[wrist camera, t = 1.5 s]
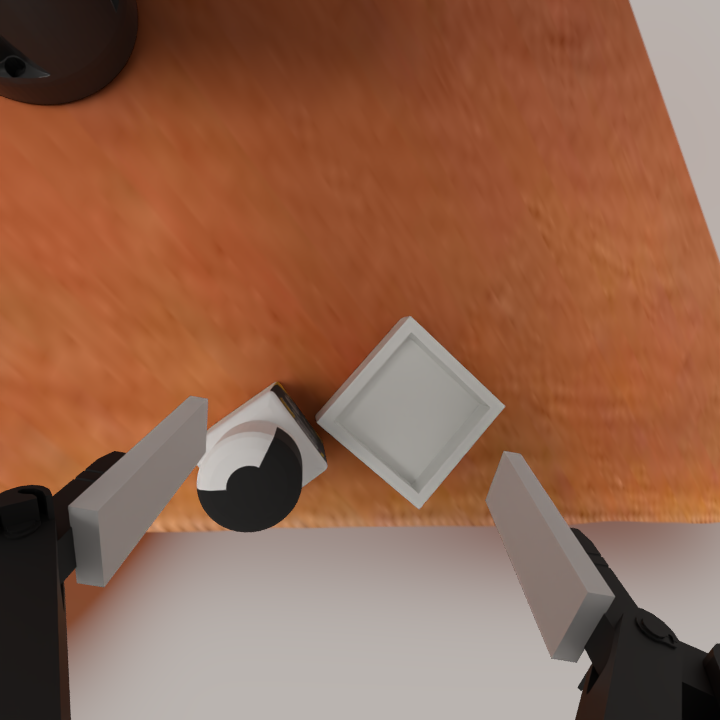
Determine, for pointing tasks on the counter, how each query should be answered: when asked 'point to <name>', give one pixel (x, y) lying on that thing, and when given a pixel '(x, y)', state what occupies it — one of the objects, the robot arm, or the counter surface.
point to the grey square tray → (410, 411)
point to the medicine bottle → (258, 462)
